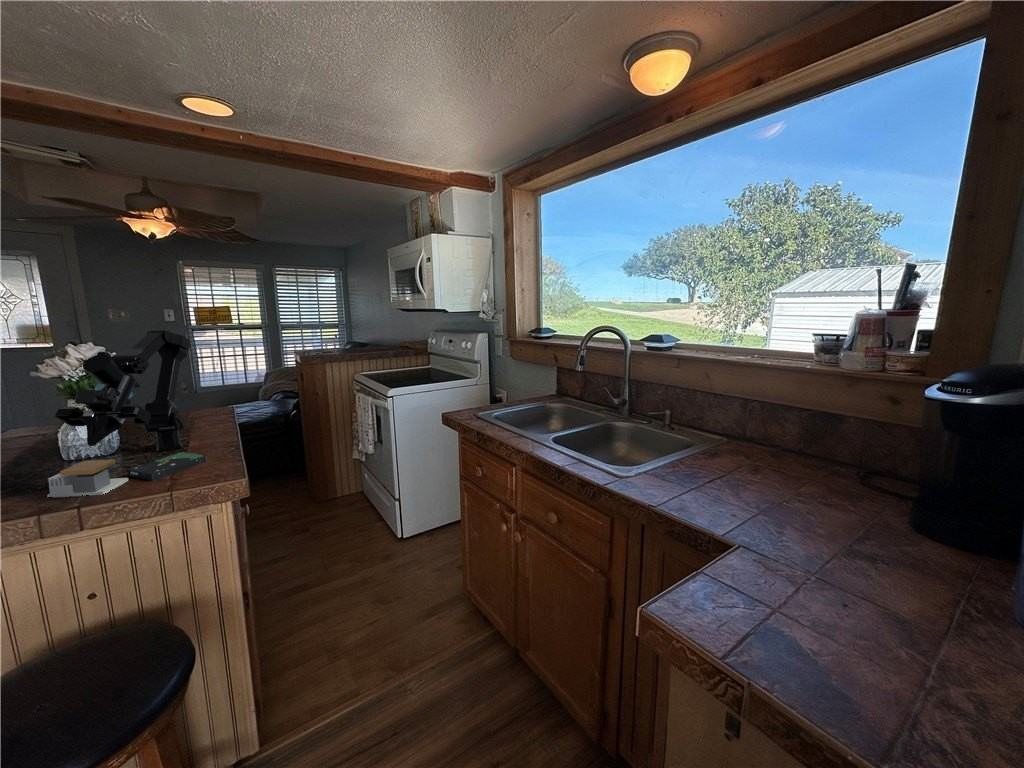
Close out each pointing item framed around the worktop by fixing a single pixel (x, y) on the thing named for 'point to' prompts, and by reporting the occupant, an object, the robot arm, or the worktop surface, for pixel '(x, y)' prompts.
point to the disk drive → (166, 466)
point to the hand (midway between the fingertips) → (90, 445)
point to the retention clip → (88, 467)
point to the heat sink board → (83, 484)
